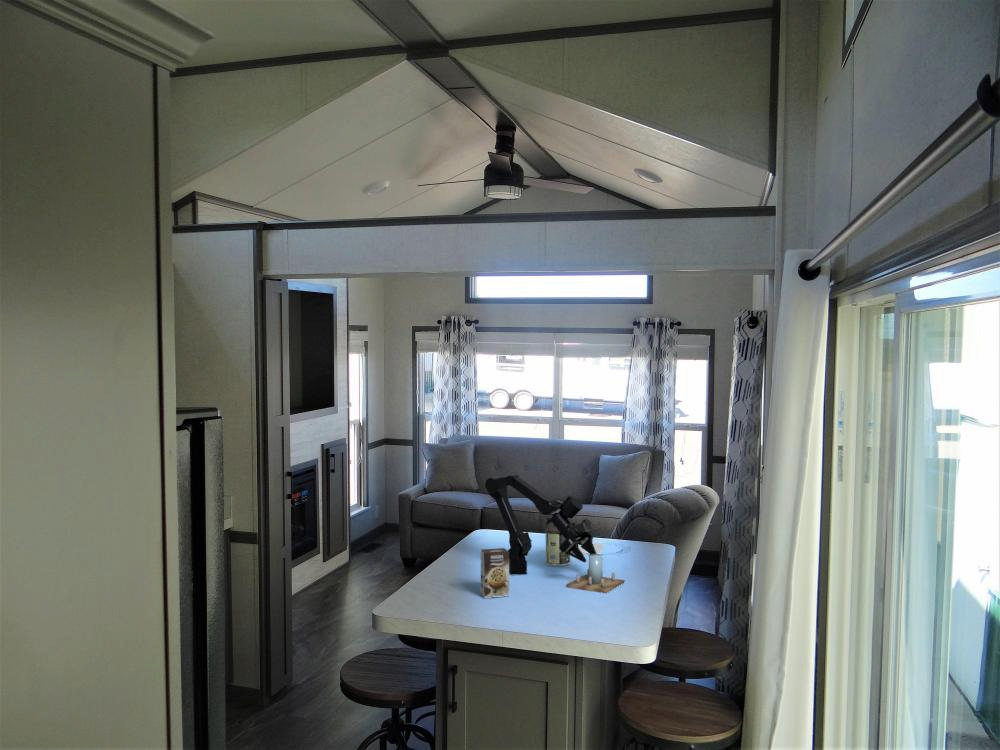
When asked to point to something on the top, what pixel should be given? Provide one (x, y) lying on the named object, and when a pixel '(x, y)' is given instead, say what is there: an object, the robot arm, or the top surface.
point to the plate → (596, 546)
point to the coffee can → (555, 548)
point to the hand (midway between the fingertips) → (591, 559)
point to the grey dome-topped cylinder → (595, 568)
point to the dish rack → (586, 584)
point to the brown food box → (494, 572)
